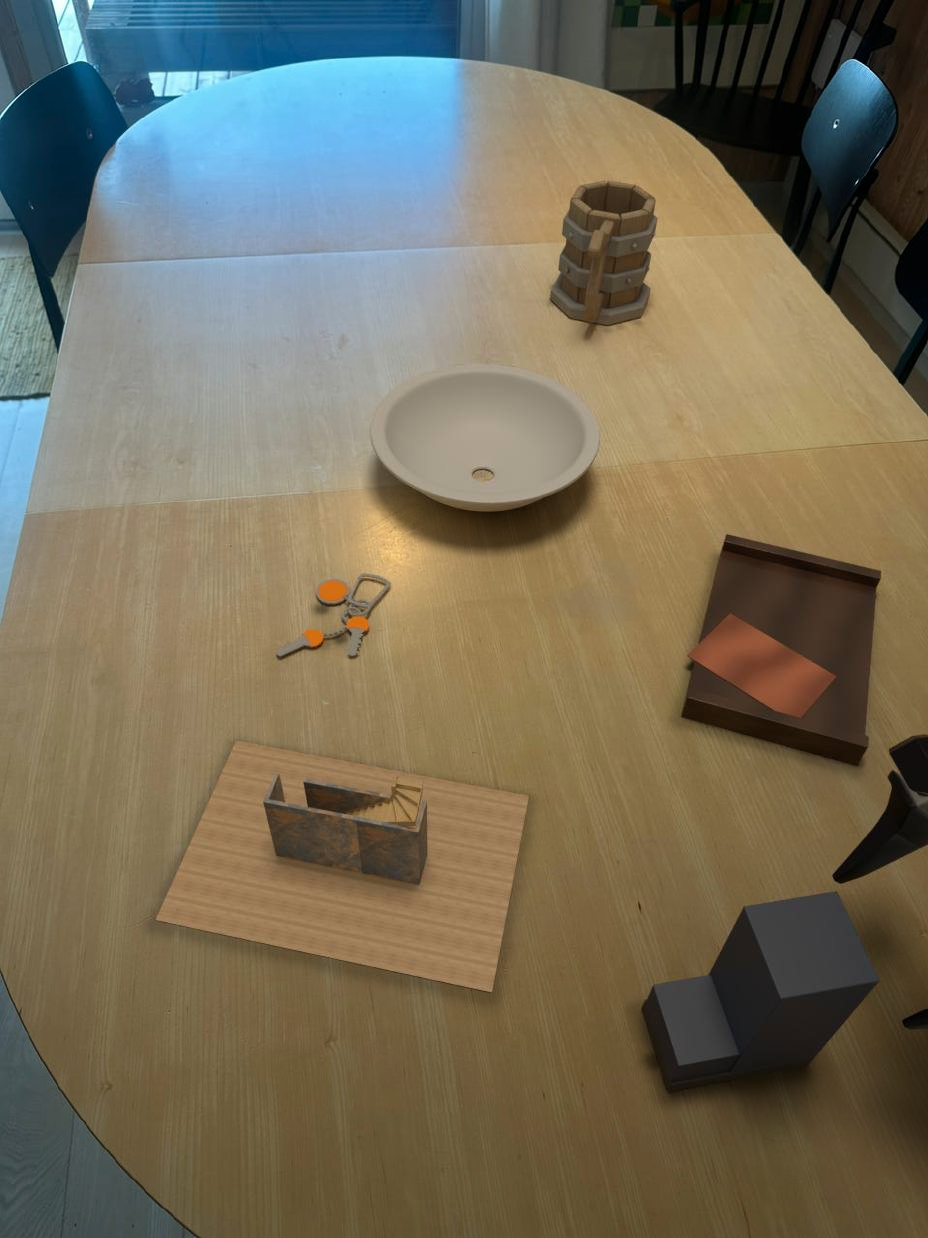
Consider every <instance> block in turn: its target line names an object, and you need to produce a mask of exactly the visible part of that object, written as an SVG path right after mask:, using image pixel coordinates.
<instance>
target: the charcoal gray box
mask: <svg viewBox="0 0 928 1238" xmlns="http://www.w3.org/2000/svg"><path fill="white" fill-rule="evenodd" d="M879 983H880V978H879V976H878V974H877V972H876V969H875V967H874V966H873V963H872V961H871V960H870V957H869V955H868V953H867V951H866V948H865V946H864V945H863V942H862V940H861V938H860V936H859V934H858V932H857V930H856V928H855V925H854V924H853V921H852V919H851V917H850V915H849V912H848V911H847V909H846V906H845V904H844V903H843V900H842V898H841V896H840V894H839V892H838V891H837V890H835V891H828V892H823V893H818V894H817V893H815V894H811V895H805V896H798V897H793V898H786V899H779V900H774V901H769V902H761V903H757V904H750V905H745V906H743V908H742V909H741V911H740V913H739V915H738V917H737V919H736V921H735V923H734V925H733V926H732V929H731V930H730V932H729V935H728V936H727V938H726V940H725V942H724V944H723V945H722V947H721V950H720V952H719V954H718V956H717V957H716V959H715V961H714V963H713V965H712V967H711V969H710V971H709V973H708V974H706V975H701V976H695V977H690V978H689V977H688V978H683V979H678V980H677V979H676V980H672V981H667V982H661V983H656V984H653V985H652V987H651V988H650V991H649V993H648V996H647V999H644V1001H643V1004H642V1006H641V1010H642V1014H643V1017H644V1020H645V1024H646V1027H647V1031H648V1034H649V1037H650V1040H651V1043H652V1047H653V1050H654V1054H655V1057H656V1060H657V1063H658V1066H659V1070H660V1074H661V1076H662V1080H663V1084H664V1087H665V1090H666V1092H675V1091H679V1090H684V1089H690V1088H695V1087H700V1086H705V1085H710V1084H715V1083H720V1082H726V1081H731V1080H736V1079H741V1078H746V1077H753V1076H758V1075H763V1074H768V1073H772V1072H778V1071H782V1070H788V1069H793V1068H798V1067H803V1066H808V1065H810V1064H811V1063H812V1062H813V1060H814V1059H815V1058H816V1057H817V1056H818V1055H819V1053H820V1052H821V1051H822V1050H823V1048H824V1047H825V1046H826V1045H827V1044H828V1042H829V1041H830V1040H831V1039H832V1038H833V1037H834V1035H835V1034H836V1033H837V1032H838V1031H839V1030H840V1029H841V1027H842V1026H843V1025H844V1024H845V1023H846V1022H847V1020H848V1019H849V1018H850V1016H852V1014H854V1012H855V1011H856V1009H858V1007H859V1006H860V1005H862V1003H863V1001H864V1000H865V999H866V998H867V997H868V996H869V994H870V993H871V992H872V991H873V990H874V989H875V987H876V986H877V985H878V984H879Z"/></svg>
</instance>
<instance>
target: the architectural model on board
mask: <svg viewBox="0 0 928 1238" xmlns="http://www.w3.org/2000/svg"><path fill="white" fill-rule="evenodd" d="M529 798H530V795H527V794H522V793H516V792H511V791H506V790H501V789H496V788H490V787H485V786H481V785H475V784H471V783H470V784H469V783H464V782H459V781H453V780H448V779H443V778H438V777H433V776H426V775H422V774H416V773H411V772H405V771H400V770H396V769H391V768H384V767H381V766H380V767H379V766H375V765H370V764H363V763H358V762H353V761H347V760H342V759H337V758H332V757H326V756H323V755H322V756H321V755H316V754H311V753H305V752H301V751H295V750H289V749H284V748H279V747H274V746H269V745H264V744H263V745H262V744H259V743H254V742H253V743H252V742H247V741H242V740H235V742H234V744H233V747H232V748H231V751H230V753H229V755H228V758H227V759H226V762H225V764H224V767H223V769H222V771H221V773H220V776H219V778H218V779H217V782H216V784H215V787H214V789H213V791H212V793H211V796H210V797H209V801H208V802H207V804H206V807H205V809H204V811H203V813H202V815H201V818H200V819H199V822H198V823H197V827H196V828H195V831H194V833H193V836H192V838H191V840H190V842H189V845H188V847H187V848H186V851H185V853H184V856H183V858H182V860H181V863H180V864H179V867H178V869H177V871H176V873H175V876H174V878H173V880H172V882H171V885H170V886H169V889H168V891H167V893H166V895H165V898H164V900H163V902H162V904H161V906H160V909H159V911H158V912H157V915H156V918H155V921H159V922H164V923H168V924H172V925H176V926H177V925H178V926H182V927H185V928H186V927H187V928H190V929H196V930H200V931H204V932H209V933H214V934H217V935H218V934H219V935H224V936H227V937H233V938H237V939H242V940H247V941H250V942H251V941H252V942H256V943H261V944H266V945H271V946H275V947H278V948H279V947H280V948H284V949H288V950H293V951H296V952H297V951H298V952H303V953H307V954H312V955H317V956H321V957H326V958H330V959H334V960H340V961H344V962H348V963H349V962H350V963H353V964H358V965H363V966H367V967H372V968H377V969H381V970H386V971H390V972H397V973H400V974H405V975H410V976H413V977H419V978H424V979H428V980H432V981H437V982H441V983H446V984H451V985H456V986H461V987H465V988H470V989H475V990H480V991H483V992H484V991H485V992H488V993H493V991H494V990H493V989H494V984H495V980H496V973H497V969H498V962H499V958H500V954H501V953H500V952H501V947H502V941H503V936H504V931H505V925H506V920H507V917H508V910H509V904H510V899H511V895H512V889H513V884H514V878H515V873H516V867H517V862H518V857H519V851H520V847H521V842H522V836H523V830H524V825H525V819H526V814H527V809H528V803H529Z"/></svg>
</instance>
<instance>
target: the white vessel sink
mask: <svg viewBox="0 0 928 1238" xmlns="http://www.w3.org/2000/svg"><path fill="white" fill-rule="evenodd" d="M369 427H370V428H369V436H370V441H371V445H372V448H373V450H374V453H375V455H376V457H377V458H378V460H379V461H380V463H381V464H382V465H383V467H384V468H385V469H386V470H387V471H388V472H389V473H390V474H391V475H393V477H395V478H396V479H398V480H399V481H401V483H403V484H405V485H407V486H409V487H410V488H412V489H414V490H416V491H418V492H420V493H421V494H423V495H425V496H426V497H428V498H430V499H432V500H434V501H436V502H438V503H441V504H443V505H446V506H449V507H453V508H455V509H460V510H465V511H471V512H487V513H490V512H501V511H502V512H503V511H509V510H514V509H519V508H521V507H524V506H528V505H530V504H534V503H535V502H538V501H540V500H542V499H544V498H546V497H549V496H552V495H554V494H556V493H558V492H560V491H562V490H564V489H566V488H568V487H570V486H571V485H572V484H574V483H575V482H577V481H578V480H579V479H580V478H581V477H582V476H583V475H584V474H586V472H587V471H588V470H589V469H590V467H591V465H593V462H594V461H595V459H596V458H597V455H598V452H599V449H600V445H601V444H600V443H601V433H600V426H599V424H598V420H597V418H596V416H595V414H594V412H593V410H592V409H591V408H590V406H589V405H588V404H587V402H586V401H585V400H584V399H583V398H581V396H579V395H578V394H577V393H576V392H574V391H573V390H572V389H571V388H569V387H567V386H566V385H564V384H563V383H561V382H559V381H557V380H556V379H553V378H551V377H549V376H547V375H544V374H541V373H538V372H535V371H532V370H529V369H525V368H520V367H515V366H509V365H504V364H493V363H465V364H456V365H449V366H444V367H440V368H436V369H432V370H428V371H426V372H423V373H419V374H417V375H415V376H413V377H411V378H408V379H407V380H405V381H403V382H401V383H400V384H399V385H397V386H396V387H394V388H393V389H391V391H389V392H388V393H387V394H386V395H385V396H384V397H383V398H382V399H381V401H380V402H379V403H378V405H377V406H376V408H375V410H374V412H373V414H372V418H371V422H370V426H369ZM477 470H487V471H490V472H491V473H492V474H493V477H492V478H491V479H489V480H486V481H485V480H483V481H482V480H477V479H476V478H474V477H473V473H474V472H475V471H477Z"/></svg>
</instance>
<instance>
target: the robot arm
mask: <svg viewBox="0 0 928 1238" xmlns="http://www.w3.org/2000/svg"><path fill="white" fill-rule="evenodd" d="M888 754H889V756H890V757H891V760H892V761H893V763H894V765H895V766H896V768H897V770H898V772H899V773H898V772H897V771H895V770H894V769H892V770H890V772H889V773H888V775H887V780H888V782H889V783H890V785H891V788H890V793H889V798H888V802H887V805H886V807H885V810H884V811H883V813H881V815H880V817H879V818H878V820H877V821H876V823H875V824H874V826H873V827H872V828H871V829H870V831H868V833H867V834H866V835H865V836H864V838H863V839H862V840H861V841H860V842H859V844H857V846H856V847H855V848H854V849H853V850H852V851H851V852H850V854H849V855H848V856H847V857H846V858H845V860H843V862H842V863H841V864H840V865H839V866H838V867H837V868H836V870H835V871H834V872H833V873H832V875H831V877H832V879H833V881H834V882H836V883H838V884H839V885H842V884H846V883H848V882H852V881H855V880H857V879H861V878H863V877H865V876H867V875H869V874H872V873H873V872H876V871H878V870H879V869H882V868H883V867H886V866H888V865H890V864H892V863H894V862H896V861H897V860H900V859H902V858H904V857H906V856H908V855H910V854H911V853H914V852H916V851H918V850H920V849H922V848H924V847H927V846H928V734H927V733H926V734H925V733H923V734H915V735H911V736H909V737H908V738H906V739H904V740H902V741H900V742H898V743H897V744H895V745H893V746H892V747H889V748H888ZM901 1023H902V1025H903V1027H904V1028H905V1029H907V1030H928V1008H925V1009H922V1010H920V1011H917V1012H915V1013H913V1014H911V1015H909V1016H907V1017H904V1018H903V1019H902V1020H901Z"/></svg>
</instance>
